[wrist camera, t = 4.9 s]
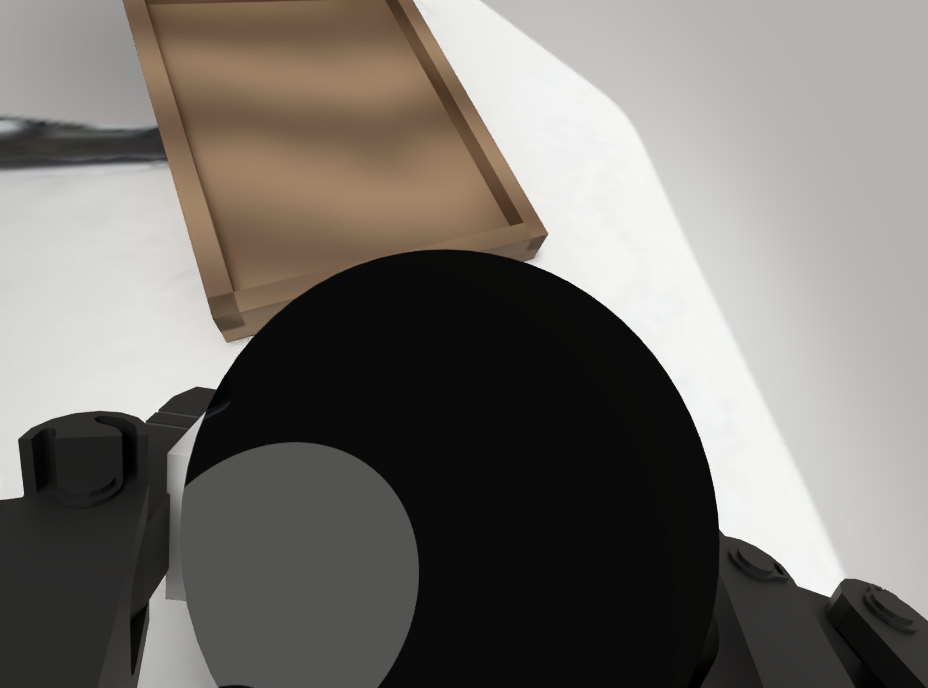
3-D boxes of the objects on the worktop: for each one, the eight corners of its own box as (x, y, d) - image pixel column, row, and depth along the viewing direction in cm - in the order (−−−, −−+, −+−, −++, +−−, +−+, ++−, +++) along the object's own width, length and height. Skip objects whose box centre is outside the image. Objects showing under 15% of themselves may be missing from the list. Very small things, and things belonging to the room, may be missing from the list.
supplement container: (370, 700, 13) (418, 1085, 4) (251, 498, 14) (62, 399, 5) (538, 541, 16) (808, 526, 6) (424, 386, 17) (510, 188, 8)
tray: (131, 12, 21) (113, -31, 20) (391, 4, 26) (394, -32, 24) (226, 342, 16) (212, 318, 14) (533, 258, 21) (548, 234, 19)
